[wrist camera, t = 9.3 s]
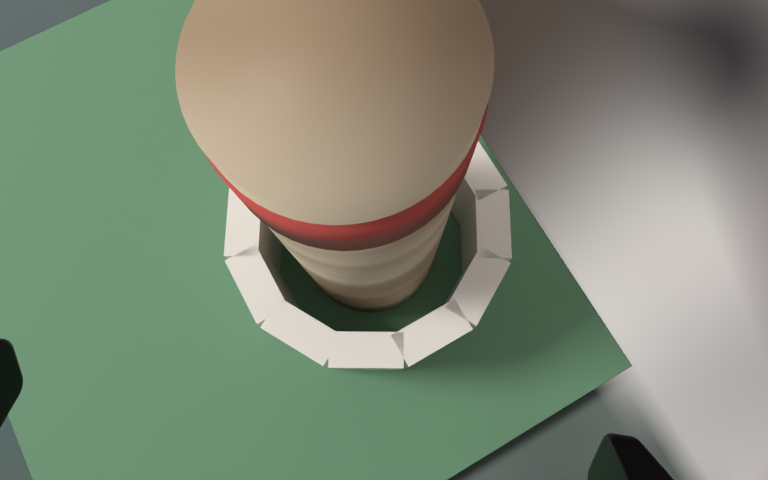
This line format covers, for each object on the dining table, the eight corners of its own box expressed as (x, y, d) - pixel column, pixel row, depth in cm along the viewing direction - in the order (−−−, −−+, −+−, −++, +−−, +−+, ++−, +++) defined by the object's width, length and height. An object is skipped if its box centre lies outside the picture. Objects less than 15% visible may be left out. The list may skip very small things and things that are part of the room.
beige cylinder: (442, 306, 19) (523, 194, 7) (313, 320, 19) (174, 232, 7) (426, 183, 20) (472, -96, 8) (303, 197, 20) (168, -64, 8)
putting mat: (625, 366, 19) (632, 365, 19) (119, 677, 17) (112, 686, 17) (327, -91, 24) (326, -100, 24) (-101, 109, 22) (-113, 103, 21)
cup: (534, 292, 19) (565, 275, 16) (322, 416, 19) (308, 425, 15) (413, 102, 21) (418, 50, 18) (214, 206, 20) (179, 172, 17)
